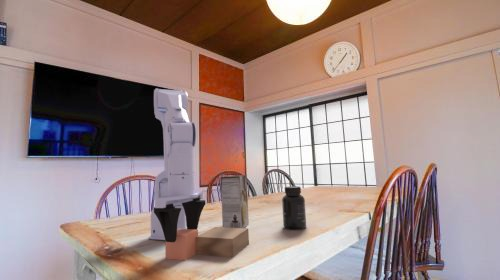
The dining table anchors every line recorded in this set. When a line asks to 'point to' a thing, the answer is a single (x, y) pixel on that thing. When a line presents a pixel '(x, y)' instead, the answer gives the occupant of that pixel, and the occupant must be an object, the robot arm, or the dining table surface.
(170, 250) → the red cube
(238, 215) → the coffee box
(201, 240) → the walnut block
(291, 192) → the supplement bottle
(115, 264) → the dining table surface
